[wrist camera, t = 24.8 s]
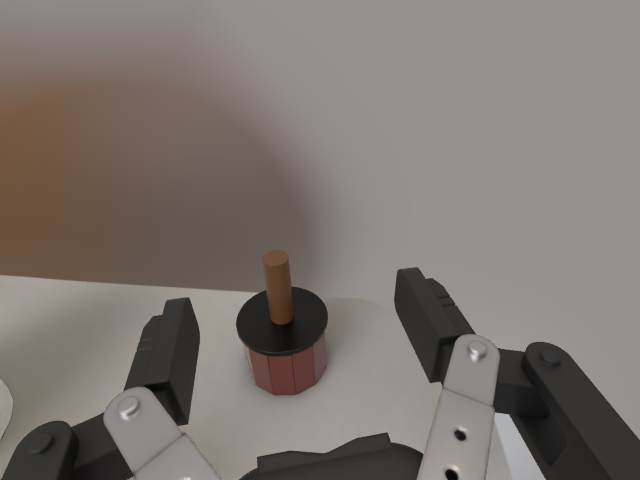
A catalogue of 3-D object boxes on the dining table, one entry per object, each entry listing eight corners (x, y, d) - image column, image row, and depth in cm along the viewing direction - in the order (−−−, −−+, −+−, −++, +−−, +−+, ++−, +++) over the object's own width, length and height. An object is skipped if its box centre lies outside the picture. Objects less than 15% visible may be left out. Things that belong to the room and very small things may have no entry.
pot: (339, 348, 46) (339, 307, 42) (299, 409, 39) (294, 367, 35) (279, 322, 50) (274, 283, 46) (233, 373, 43) (223, 332, 39)
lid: (343, 307, 42) (344, 245, 37) (295, 372, 35) (288, 306, 30) (273, 280, 46) (265, 222, 41) (217, 333, 39) (200, 270, 34)
